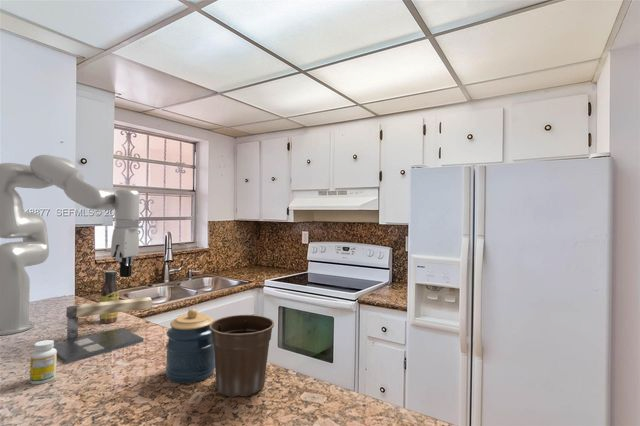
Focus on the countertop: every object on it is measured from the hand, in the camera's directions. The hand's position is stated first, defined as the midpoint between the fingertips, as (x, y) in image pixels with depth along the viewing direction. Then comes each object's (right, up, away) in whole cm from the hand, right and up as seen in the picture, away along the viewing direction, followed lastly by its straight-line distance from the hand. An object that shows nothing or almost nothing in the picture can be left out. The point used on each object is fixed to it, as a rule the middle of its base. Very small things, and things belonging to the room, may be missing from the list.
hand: (125, 276), depth 122 cm
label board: (-6, -21, -7) cm, 23 cm away
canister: (+33, -22, -26) cm, 47 cm away
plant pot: (+48, -22, -32) cm, 62 cm away
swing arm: (-6, -13, +2) cm, 14 cm away
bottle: (-15, -21, +15) cm, 30 cm away
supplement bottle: (-3, -21, -32) cm, 38 cm away
